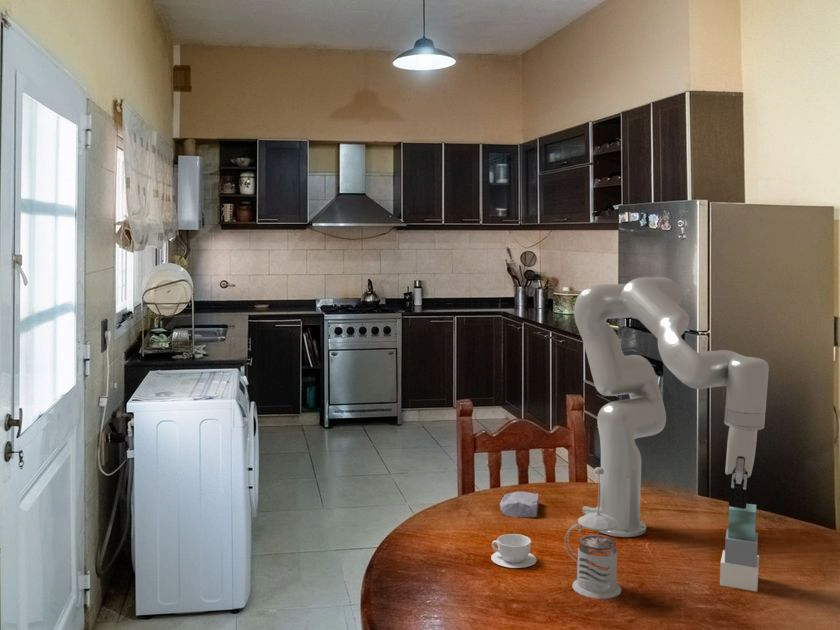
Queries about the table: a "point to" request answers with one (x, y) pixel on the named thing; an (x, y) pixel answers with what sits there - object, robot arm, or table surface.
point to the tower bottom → (738, 575)
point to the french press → (596, 578)
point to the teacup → (513, 551)
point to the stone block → (520, 504)
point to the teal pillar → (742, 522)
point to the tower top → (741, 551)
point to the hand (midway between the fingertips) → (738, 499)
